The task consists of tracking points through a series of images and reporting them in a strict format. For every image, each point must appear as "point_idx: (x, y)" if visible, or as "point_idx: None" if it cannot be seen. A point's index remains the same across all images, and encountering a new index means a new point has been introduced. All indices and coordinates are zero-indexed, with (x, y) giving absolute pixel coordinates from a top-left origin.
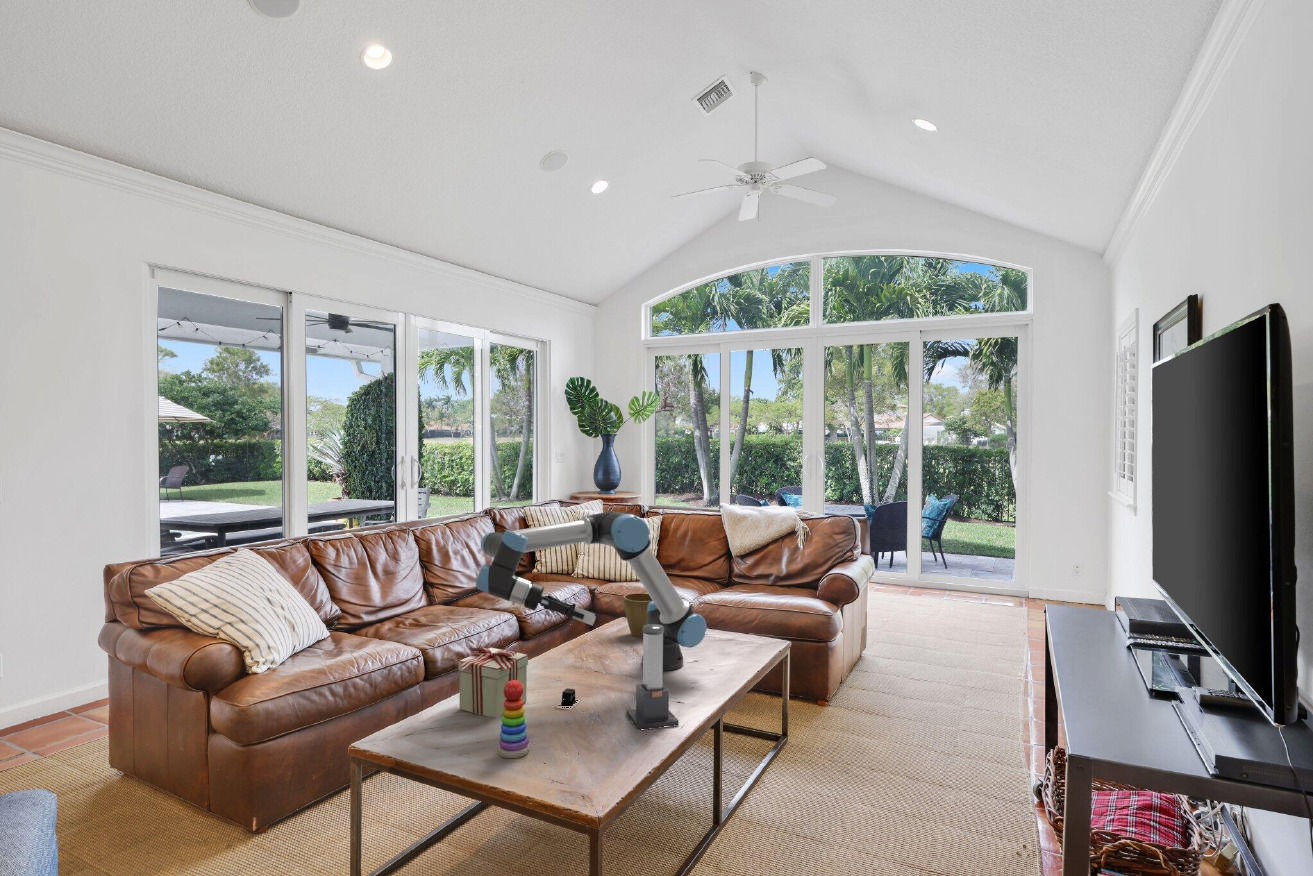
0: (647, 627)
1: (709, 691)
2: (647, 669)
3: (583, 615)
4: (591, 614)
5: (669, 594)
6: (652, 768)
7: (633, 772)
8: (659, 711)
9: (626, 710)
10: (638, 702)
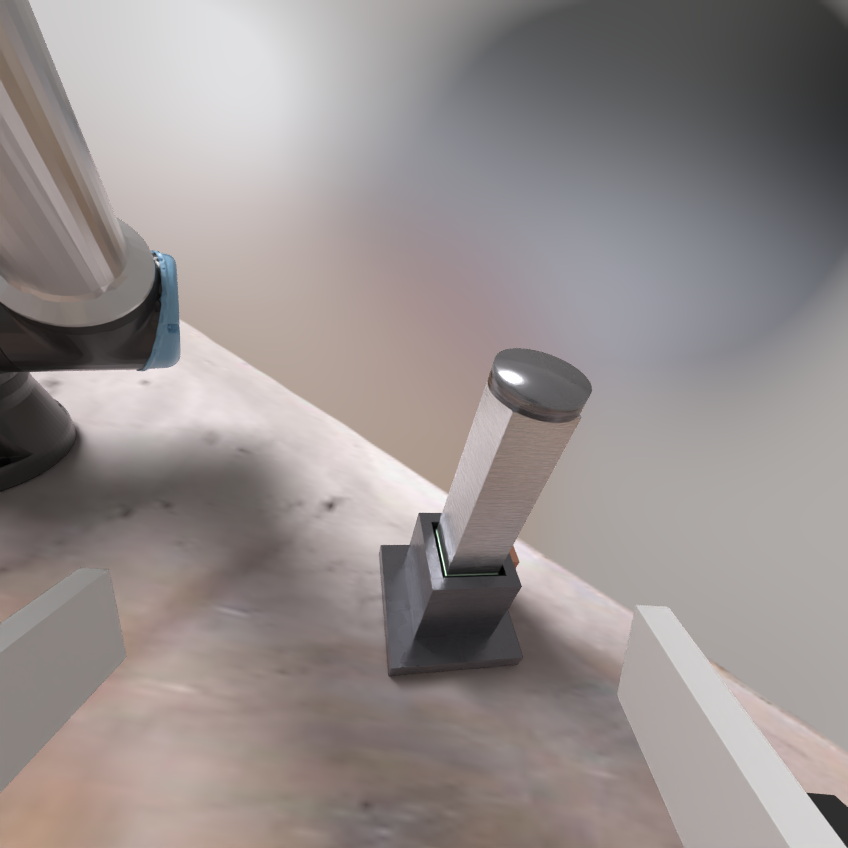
0: (558, 389)
1: (288, 433)
2: (521, 524)
3: (844, 824)
4: (76, 616)
5: (102, 186)
6: (737, 682)
7: (785, 745)
8: None
9: (392, 669)
10: (449, 617)
